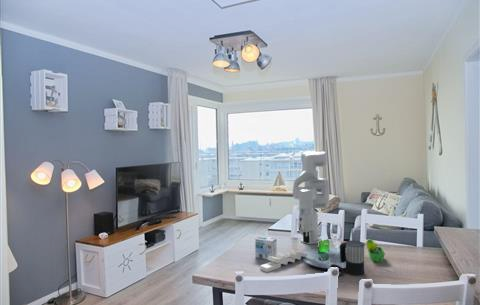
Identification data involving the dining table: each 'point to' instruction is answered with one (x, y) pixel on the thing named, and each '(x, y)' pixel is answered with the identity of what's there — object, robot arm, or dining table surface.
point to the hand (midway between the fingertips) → (306, 242)
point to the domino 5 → (298, 253)
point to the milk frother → (352, 258)
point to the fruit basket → (375, 251)
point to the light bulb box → (265, 247)
